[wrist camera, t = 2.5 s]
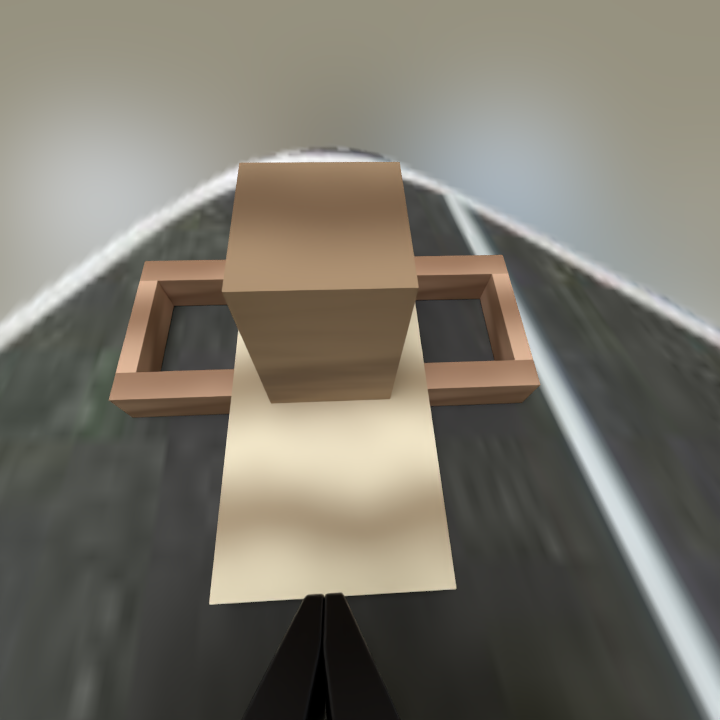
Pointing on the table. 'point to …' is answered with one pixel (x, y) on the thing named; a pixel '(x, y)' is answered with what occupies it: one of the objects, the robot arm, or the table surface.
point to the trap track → (327, 442)
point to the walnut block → (321, 277)
